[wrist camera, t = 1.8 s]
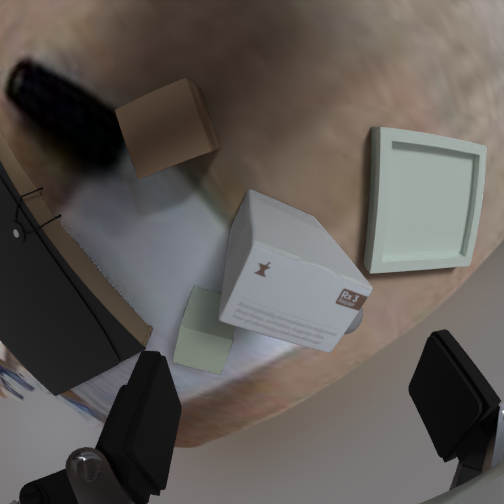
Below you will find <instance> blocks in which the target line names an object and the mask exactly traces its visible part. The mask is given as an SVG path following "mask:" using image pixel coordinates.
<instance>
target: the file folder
mask: <svg viewBox="0 0 504 504" xmlns="http://www.w3.org/2000/svg"><path fill="white" fill-rule="evenodd" d="M41 189H43V188H42V187H41V188H39V189H37V188H36V187H35V185H34V184H33V182H32V181H31V179H30V178H29V177H28V175H27V174H26V172H25V171H24V170H23V169H22V167H21V166H20V164H19V163H18V161H17V160H16V158H15V156H14V154H13V153H12V151H11V149H10V147H9V145H8V143H7V141H6V140H5V138H4V136H3V133H2V131H1V128H0V340H1V341H2V343H3V344H4V345H5V346H6V347H7V348H8V350H9V351H10V352H11V353H12V354H13V355H14V356H15V357H16V359H17V360H18V361H19V362H20V363H21V364H22V365H23V366H24V367H25V368H26V369H27V370H28V371H29V372H30V373H31V374H32V375H33V376H34V377H35V378H36V379H37V380H38V381H39V382H40V383H41V384H42V385H43V386H44V387H45V388H46V389H48V390H49V391H50V392H51V393H52V394H53V395H54V396H57V395H59V394H61V393H63V392H65V391H67V390H69V389H71V388H73V387H75V386H77V385H79V384H81V383H83V382H85V381H87V380H89V379H91V378H93V377H95V376H97V375H99V374H101V373H103V372H105V371H107V370H109V369H111V368H112V367H114V366H116V365H118V364H119V363H120V362H122V361H124V360H126V359H128V358H130V357H132V356H134V355H135V354H137V353H139V352H141V351H143V350H145V349H146V348H145V347H146V344H147V341H148V340H147V339H149V338H150V337H149V336H150V335H151V332H152V330H153V329H152V327H151V326H148V325H147V324H146V323H145V322H144V321H143V320H142V318H141V317H140V316H139V315H138V314H137V313H136V312H135V311H134V310H133V309H132V307H131V306H130V305H129V304H128V303H127V302H126V301H125V300H124V298H123V297H122V296H121V295H120V294H119V293H118V292H117V291H116V290H115V289H114V287H113V286H112V285H111V284H110V283H109V282H108V281H107V280H106V278H105V277H104V276H103V275H102V274H101V272H100V271H99V270H98V269H97V267H96V266H95V265H94V263H93V262H92V261H91V259H90V258H89V257H88V256H87V254H86V253H85V252H84V250H83V249H82V248H81V247H80V246H79V245H78V243H77V242H76V241H75V240H74V239H73V238H72V237H71V236H70V235H69V234H68V233H67V232H66V231H65V229H64V228H63V227H62V226H61V225H60V224H59V222H58V221H57V220H56V219H57V218H58V217H60V216H61V214H60V215H58V216H56V217H54V216H53V214H52V213H51V211H50V210H49V208H48V207H47V205H46V204H45V202H44V200H43V198H42V197H41V195H40V193H39V192H38V191H39V190H41Z"/></svg>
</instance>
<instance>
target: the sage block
mask: <svg viewBox="0 0 504 504" xmlns="http://www.w3.org/2000/svg"><path fill="white" fill-rule="evenodd" d="M221 294H222V293H218V292H215V291H211V290H208V289H204V288H201V287H197V286H194V287H193V290H192V293H191V296H190V299H189V301H188V304H187V307H186V310H185V313H184V316H183V319H182V322H181V325H180V329H179V334H178V338H177V343H176V348H175V352H174V357H173V362H174V363H177V364H181V365H185V366H188V367H192V368H195V369H199V370H203V371H207V372H211V373H215V374H219V375H220V374H221V372H222V369H223V366H224V364H225V361H226V359H227V356H228V353H229V351H230V348H231V345H232V343H233V339H234V327H235V326H234V325H230V324H227V323H224V322H221V321H220V320H219V307H220V301H221Z"/></svg>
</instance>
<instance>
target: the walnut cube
mask: <svg viewBox="0 0 504 504" xmlns="http://www.w3.org/2000/svg"><path fill="white" fill-rule="evenodd" d="M115 112H116V115H117V119H118V122H119V125H120V128H121V131H122V134H123V137H124V140H125V143H126V146H127V149H128V152H129V155H130V157H131V160H132V163H133V166H134V169H135V171H136V174H137V177H138V179H141V178H144V177H146V176H148V175H151V174H153V173H156V172H158V171H161V170H163V169H166V168H168V167H171V166H173V165H176V164H179V163H181V162H184V161H186V160H189V159H192V158H195V157H197V156H200V155H203V154H206V153H209V152H212V151H214V150H217V149H219V148H220V145H219V142H218V140H217V137H216V134H215V131H214V128H213V125H212V122H211V119H210V116H209V113H208V110H207V107H206V104H205V101H204V98H203V95H202V92H201V89H200V88H198V87H197V86H196V85H195V84H194V83H192V82H191V81H190V80H189V79H188V78H183V79H181V80H178V81H176V82H173V83H171V84H168V85H166V86H164V87H161V88H159V89H157V90H155V91H152V92H150V93H148V94H146V95H144V96H142V97H139V98H137V99H135V100H133V101H131V102H129V103H127V104H125V105H123V106H121V107H119V108H118V109H116V110H115Z"/></svg>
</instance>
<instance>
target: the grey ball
mask: <svg viewBox="0 0 504 504" xmlns="http://www.w3.org/2000/svg"><path fill="white" fill-rule="evenodd" d="M362 316H363V311H362V307H361V309H360V310H359V312H358V314H357V315H356V317H355V318H354V320H353V321H352V323H351V324H350V326H349V327H348V329H347V330H346V332H345V333H344V334H348V333H351V332H353V331H354V330H355V329H356V328H357V327H358V326H359V325H360V323H361V321H362Z"/></svg>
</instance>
